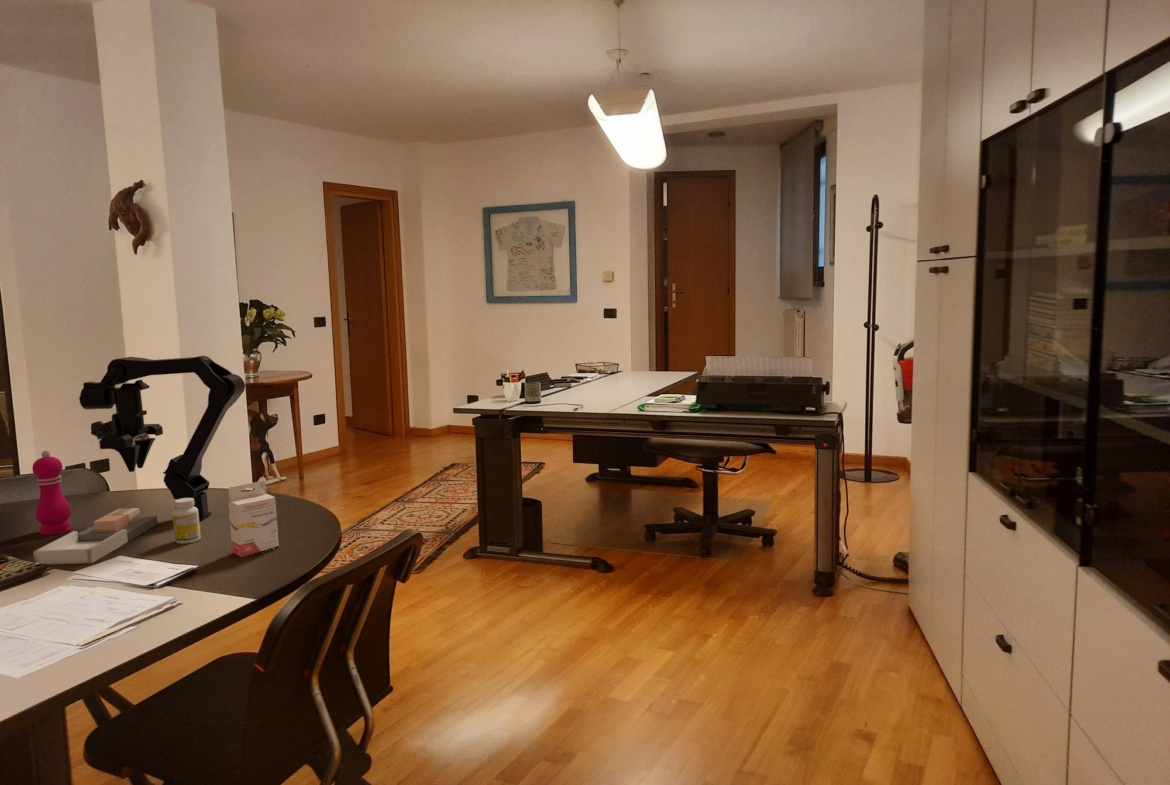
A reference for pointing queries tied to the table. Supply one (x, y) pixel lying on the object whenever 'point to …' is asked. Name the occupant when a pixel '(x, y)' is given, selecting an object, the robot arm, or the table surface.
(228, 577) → the table surface
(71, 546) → the box
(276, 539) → the ink cartridge box
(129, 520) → the birch tile
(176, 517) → the supplement bottle
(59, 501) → the pepper mill
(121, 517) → the terracotta tile
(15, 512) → the table surface
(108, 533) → the board
